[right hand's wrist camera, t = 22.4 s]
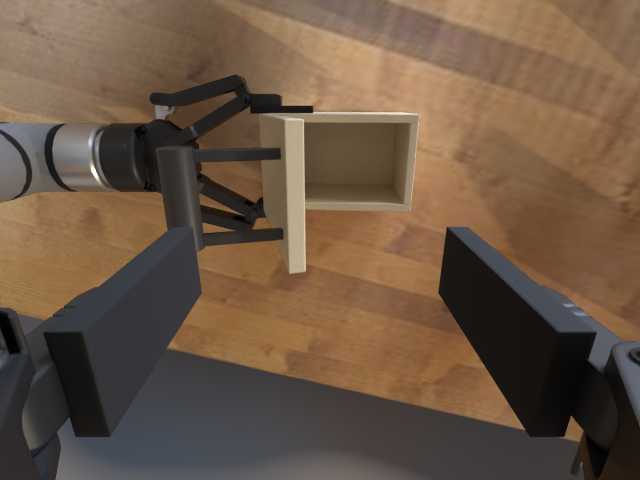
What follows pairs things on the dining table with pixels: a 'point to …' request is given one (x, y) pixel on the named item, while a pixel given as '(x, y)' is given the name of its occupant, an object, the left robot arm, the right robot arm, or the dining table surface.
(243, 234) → the lid
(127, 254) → the dining table surface
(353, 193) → the chest
